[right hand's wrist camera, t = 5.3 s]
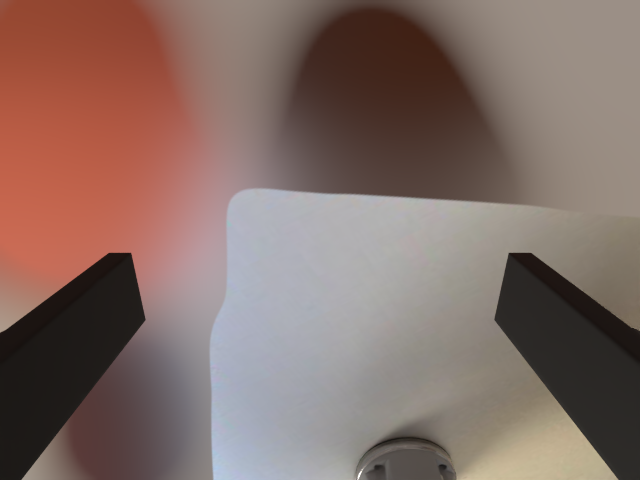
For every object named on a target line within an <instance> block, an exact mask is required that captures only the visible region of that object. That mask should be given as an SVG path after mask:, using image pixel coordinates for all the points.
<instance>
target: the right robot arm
mask: <svg viewBox="0 0 640 480" xmlns="http://www.w3.org/2000/svg"><path fill="white" fill-rule="evenodd" d="M144 321H145V315H144V310H143V306H142V301H141V296H140V292H139V287H138V283H137V278H136V273H135V269H134V264H133V259H132V255H131V253H108V254H107V255H106V256H104V257H103V258H102V259H100V260H99V261H98V262H96V263H95V264H94V265H92V266H91V267H90V268H88V269H87V270H86V271H84V272H83V273H82V274H80V275H79V276H77V277H76V278H75V279H73V280H72V281H71V282H69V283H68V284H67V285H65V286H64V287H63V288H61V289H60V290H59V291H57V292H56V293H55V294H53V295H52V296H51V297H49V298H48V299H47V300H45V301H44V302H43V303H41V304H40V305H39V306H37V307H36V308H35V309H33V310H32V311H31V312H29V313H28V314H27V315H25V316H24V317H23V318H21V319H20V320H19V321H17V322H16V323H15V324H13V325H12V326H11V327H9V328H8V329H7V330H5V331H3V332H1V333H0V480H22V478H23V477H24V476H25V474H26V473H27V472H28V470H29V469H30V468H31V467H32V465H33V464H34V463H35V461H36V460H37V459H38V458H39V456H40V455H41V454H42V452H43V451H44V450H45V449H46V447H47V446H48V445H49V443H50V442H51V441H52V440H53V438H54V437H55V436H56V434H57V433H58V432H59V431H60V429H61V428H62V427H63V425H64V424H65V423H66V422H67V420H68V419H69V418H70V416H71V415H72V414H73V413H74V411H75V410H76V409H77V407H78V406H79V405H80V404H81V402H82V401H83V400H84V398H85V397H86V396H87V395H88V393H89V392H90V391H91V389H92V388H93V387H94V385H95V384H96V383H97V382H98V380H99V379H100V378H101V377H102V375H103V374H104V373H105V371H106V370H107V369H108V368H109V366H110V365H111V364H112V362H113V361H114V360H115V358H116V357H117V356H118V355H119V353H120V352H121V351H122V350H123V348H124V347H125V346H126V344H127V343H128V342H129V340H130V339H131V338H132V337H133V335H134V334H135V333H136V332H137V330H138V329H139V328H140V326H141V325H142V324H143V323H144ZM495 321H496V323H497V324H498V325H499V326H500V328H501V329H502V330H503V332H504V333H505V334H506V335H507V337H508V338H509V339H510V341H511V342H512V343H513V344H514V346H515V347H516V348H517V350H518V351H519V352H520V353H521V355H522V356H523V357H524V359H525V360H526V361H527V362H528V364H529V365H530V366H531V368H532V369H533V370H534V371H535V373H536V374H537V375H538V377H539V378H540V379H541V380H542V382H543V383H544V384H545V386H546V387H547V388H548V389H549V391H550V392H551V393H552V395H553V396H554V397H555V398H556V400H557V401H558V402H559V404H560V405H561V406H562V407H563V409H564V410H565V411H566V413H567V414H568V415H569V416H570V418H571V419H572V420H573V422H574V423H575V424H576V425H577V427H578V428H579V429H580V431H581V432H582V433H583V434H584V436H585V437H586V438H587V440H588V441H589V442H590V443H591V445H592V446H593V447H594V449H595V450H596V451H597V452H598V454H599V455H600V456H601V458H602V459H603V460H604V461H605V463H606V464H607V465H608V467H609V468H610V469H611V471H612V472H613V473H614V474H615V476H616V477H617V478H618V480H640V331H638V330H636V329H634V328H631V327H629V326H628V325H627V324H625V323H624V322H623V321H621V320H620V319H619V318H617V317H616V316H615V315H613V314H612V313H611V312H609V311H608V310H607V309H605V308H604V307H603V306H601V305H600V304H599V303H597V302H596V301H595V300H593V299H592V298H591V297H589V296H588V295H587V294H585V293H584V292H583V291H581V290H580V289H579V288H577V287H576V286H575V285H573V284H572V283H571V282H569V281H568V280H567V279H565V278H564V277H563V276H561V275H560V274H559V273H557V272H556V271H554V270H553V269H552V268H550V267H549V266H548V265H546V264H545V263H544V262H542V261H541V260H540V259H538V258H537V257H536V256H534V255H533V254H532V253H509V255H508V259H507V264H506V269H505V273H504V278H503V283H502V287H501V292H500V296H499V301H498V306H497V310H496V315H495ZM356 480H456V473H455V470H454V467H453V464H452V461H451V459H450V457H449V455H448V454H447V453H446V452H445V451H444V450H443V449H442V448H441V447H439V446H438V445H436V444H434V443H432V442H429V441H426V440H421V439H414V438H403V439H395V440H391V441H387V442H384V443H382V444H380V445H378V446H376V447H374V448H372V449H371V450H370V451H368V452H367V453H366V454H365V455H364V456H363V457H362V459H361V460H360V462H359V464H358V466H357V469H356Z"/></svg>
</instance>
